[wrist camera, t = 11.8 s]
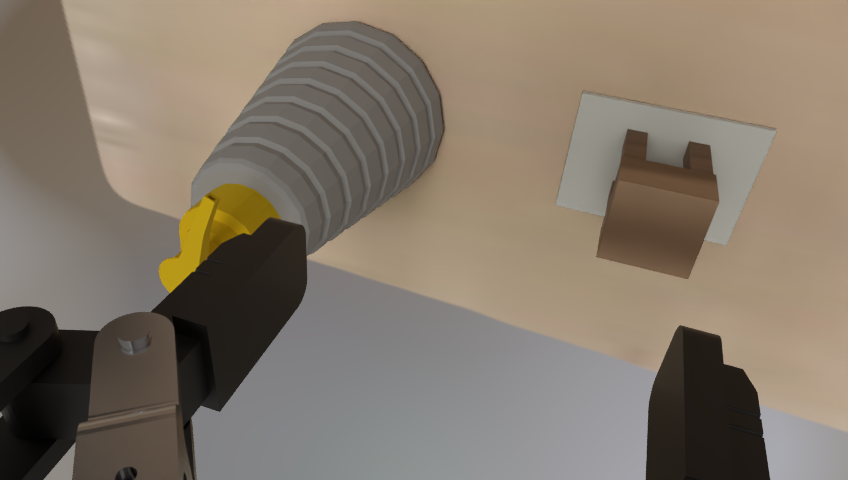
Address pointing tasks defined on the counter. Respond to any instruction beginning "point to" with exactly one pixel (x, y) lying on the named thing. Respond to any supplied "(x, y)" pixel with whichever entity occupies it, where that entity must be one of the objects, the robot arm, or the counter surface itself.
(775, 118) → the counter surface
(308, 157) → the soap bottle
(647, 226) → the wooden pronged block
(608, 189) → the felt pad
